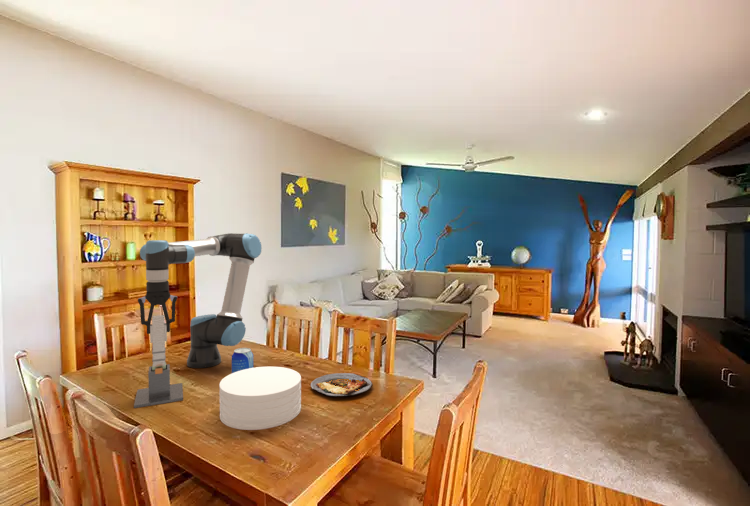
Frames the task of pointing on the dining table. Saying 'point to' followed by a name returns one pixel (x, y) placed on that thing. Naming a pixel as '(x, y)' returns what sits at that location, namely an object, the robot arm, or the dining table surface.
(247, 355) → the beer can
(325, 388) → the food plate
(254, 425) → the plate stack
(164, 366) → the column
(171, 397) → the stand
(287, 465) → the dining table surface
